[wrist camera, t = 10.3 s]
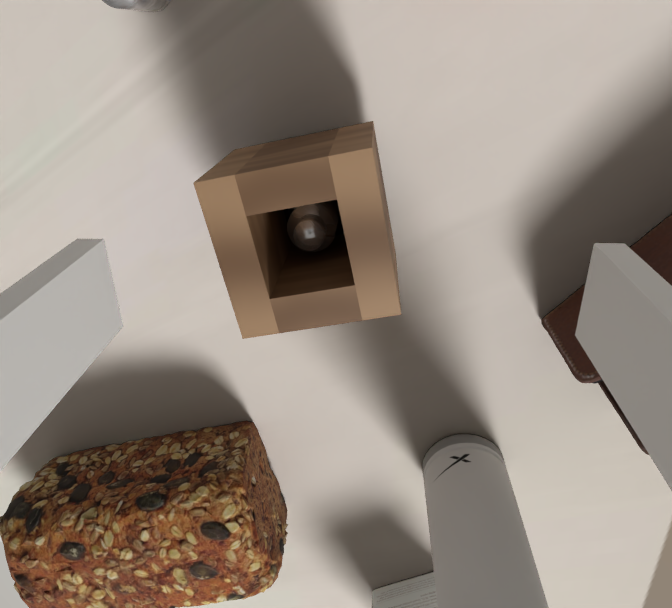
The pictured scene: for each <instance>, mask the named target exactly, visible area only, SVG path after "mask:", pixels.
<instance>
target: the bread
mask: <svg viewBox="0 0 672 608" xmlns="http://www.w3.org/2000/svg"><path fill="white" fill-rule="evenodd" d="M280 493H281V491H280V486H279V483H278V481H277V479H276V477H275V476H274V475H273V472H272V470H271V469H270V467H269V464H268V459H267V454H266V450H265V448H264V445H263V443H262V441H261V439H260V436H259V433H258V430H257V428H256V427H255V425H254V423H253V422H248V421H242V422H236V423H232V424H230V425H223V426H218V427H206V428H201V429H200V430H198V431H180V432H177V433H174V434H172V435H170V434H167V435H165V436H156V437H152V438H144V439H141V440H138V441H128V442H125V443H123V444H122V445H116V444H111V445H107V446H102V447H95V448H91V449H88V450H84V451H78V452H74V453H72V454H70V455H67V456H65V457H60V456H59V457H56V458H54V459H52V460H51V461H49V463H47V464H45V465H44V466H43V467H42V468H41V470H40V471H38V472H36V474H35V477H34V479H33V480H32V481H30V482H26V483H25V484H24V485H22V486H21V487H20V489H19V491H18V492H17V493H16V494H15V495H14V496H13V498H12V500H11V503H10V504H9V507H8V509H7V511H6V513H5V514H4V515H3V516H1V517H0V535H1V538H2V541H3V544H4V550H5V555H6V560H7V563H8V566H9V570H10V573H11V577H12V578H13V580H14V581H15V584H14V587H15V589H16V590H17V592H18V593H19V595H20V597H21V599H22V600H23V601H24V602H25V603H26V604H27V605H28V607H29V608H175V607H179V608H180V607H183V606H185V607H190V606H200V605H207V604H210V603H218V602H223V601H229V600H237V599H245V598H247V597H250V596H254V595H256V594H258V593H260V592H264V591H265V590H266V589H267V588H269V587H271V586H272V584H273V583H274V582H275V580H276V579H277V578H278V573H279V570H280V568H281V566H282V556H283V553H284V545H285V544H286V536H287V534H288V533H287V532H286V530H285V529H286V527H287V526H288V524H286V519H287V507H286V504H285V500H284V498H283V497H281V495H280Z"/></svg>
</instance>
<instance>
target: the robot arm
mask: <svg viewBox="0 0 672 608" xmlns="http://www.w3.org/2000/svg"><path fill="white" fill-rule="evenodd" d="M122 327H123V323H122V318H121V314H120V309H119V305H118V300H117V296H116V291H115V287H114V282H113V278H112V273H111V269H110V264H109V260H108V255H107V251H106V246H105V242H104V239H76V240H75V241H73V242H72V243H71V244H69V245H68V246H66V247H65V248H64V249H62V250H61V251H59V252H58V253H57V254H55V255H54V256H52V257H51V258H50V259H48V260H47V261H45V262H44V263H43V264H41V265H40V266H39V267H37V268H36V269H34V270H33V271H32V272H30V273H29V274H27V275H26V276H25V277H23V278H22V279H20V280H19V281H18V282H16V283H15V284H13V285H12V286H11V287H9V288H8V289H6V290H5V291H4V292H2V293H1V294H0V472H1V470H2V469H3V468H4V467H5V466H6V464H7V463H8V462H9V461H10V460H11V459H12V457H13V456H14V455H15V454H16V453H17V451H18V450H19V449H20V448H21V447H22V446H23V444H24V443H25V442H26V441H27V440H28V438H29V437H30V436H31V435H32V434H33V432H34V431H35V430H36V429H37V428H38V427H39V425H40V424H41V423H42V422H43V421H44V419H45V418H46V417H47V416H48V415H49V414H50V412H51V411H52V410H53V409H54V408H55V406H56V405H57V404H58V403H59V402H60V400H61V399H62V398H63V397H64V396H65V395H66V393H67V392H68V391H69V390H70V389H71V387H72V386H73V385H74V384H75V383H76V382H77V380H78V379H79V378H80V377H81V376H82V374H83V373H84V372H85V371H86V370H87V369H88V367H89V366H90V365H91V364H92V363H93V361H94V360H95V359H96V358H97V357H98V355H99V354H100V353H101V352H102V351H103V350H104V348H105V347H106V346H107V345H108V344H109V342H110V341H111V340H112V339H113V338H114V337H115V335H116V334H117V333H118V332H119V331H120V329H121V328H122ZM575 336H576V338H577V339H578V341H579V342H580V344H581V346H582V347H583V349H584V351H585V352H586V354H587V355H588V357H589V359H590V360H591V362H592V363H593V365H594V367H595V368H596V370H597V371H598V373H599V375H600V376H601V378H602V379H603V381H604V383H605V384H606V386H607V387H608V389H609V391H610V392H611V394H612V395H613V397H614V399H615V400H616V402H617V404H618V405H619V407H620V408H621V410H622V412H623V413H624V415H625V416H626V418H627V420H628V421H629V423H630V424H631V426H632V428H633V429H634V431H635V432H636V434H637V436H638V437H639V439H640V440H641V442H642V444H643V445H644V447H645V449H646V450H647V452H648V453H649V455H650V457H651V458H652V460H653V461H654V463H655V465H656V466H657V468H658V469H659V471H660V473H661V474H662V476H663V477H664V479H665V481H666V482H667V484H668V485H669V487H670V489H671V490H672V286H671V285H670V284H669V283H668V282H667V281H666V280H665V279H663V278H662V277H661V276H660V275H659V274H658V273H657V272H656V271H655V270H654V269H652V268H651V267H650V266H649V265H648V264H647V263H646V262H645V261H644V260H642V259H641V258H640V257H639V256H638V255H637V254H636V253H635V252H634V251H633V250H631V249H630V248H629V247H628V246H627V245H626V244H625V243H594V246H593V251H592V255H591V260H590V265H589V270H588V275H587V280H586V284H585V289H584V294H583V299H582V304H581V308H580V313H579V318H578V323H577V328H576V333H575Z"/></svg>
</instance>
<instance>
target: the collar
mask: <svg viewBox="0 0 672 608" xmlns="http://www.w3.org/2000/svg"><path fill="white" fill-rule="evenodd" d="M194 186H195V189H196V193H197V196H198V199H199V202H200V205H201V208H202V211H203V215H204V218H205V221H206V224H207V227H208V230H209V234H210V237H211V240H212V243H213V246H214V249H215V252H216V256H217V259H218V262H219V265H220V268H221V271H222V275H223V278H224V281H225V284H226V287H227V290H228V293H229V297H230V300H231V303H232V306H233V309H234V312H235V316H236V319H237V322H238V325H239V328H240V331H241V334H242V338H243V339H244V338H251V337H257V336H264V335H270V334H277V333H284V332H290V331H297V330H303V329H310V328H316V327H323V326H330V325H336V324H343V323H349V322H356V321H362V320H369V319H375V318H382V317H389V316H395V315H401V306H400V296H399V285H398V274H397V263H396V253H395V248H394V242H393V236H392V230H391V224H390V218H389V212H388V206H387V200H386V195H385V189H384V183H383V177H382V171H381V165H380V159H379V153H378V147H377V142H376V136H375V130H374V124H373V121H371V122H366V123H361V124H356V125H352V126H347V127H342V128H337V129H332V130H327V131H322V132H318V133H313V134H308V135H303V136H298V137H293V138H288V139H283V140H279V141H274V142H269V143H264V144H259V145H254V146H249V147H244V148H240V149H235V150H234V151H232V152H231V153H230V154H229V155H227V156H226V157H225V158H224V159H223V160H221V161H220V162H219V163H218V164H216V165H215V166H214V167H213V168H211V169H210V170H209V171H208V172H206V173H205V174H204V175H203V176H201V177H200V178H199V179H198V180H197V181H195V182H194ZM336 199H337V201H338V206H339V211H340V216H341V220H342V225H343V230H344V234H341V235H336V236H335V237H334V239H333V241H332V243H331V244H330V245H329V246H328V247H327V248H325V249H323V250H321V251H317V252H308V251H304V250H302V249H300V248H298V247H297V246H295V245H294V244H293V243H292V241H291V240H290V238H289V236H288V232H287V221H286V217H285V213H284V209H288V208H293V207H299V206H304V205H309V204H315V203H320V202H326V201H331V200H336Z"/></svg>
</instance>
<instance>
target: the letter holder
mask: <svg viewBox="0 0 672 608" xmlns="http://www.w3.org/2000/svg"><path fill="white" fill-rule="evenodd" d="M630 249H631V250H633V251H634V252H635V253H636V254H637V255H638V256H639V257H640V258H641V259H642V260H644V261H645V262H646V263H647V264H648V265H649V266H650V267H651V268H652V269H654V270H655V271H656V272H657V273H658V274H659V275H660V276H661V277H662V278H663V279H665V280H666V281H667V282H668V283H669V284H670V285H671V286H672V214H671V215H670V216H669V217H667V218H666V219H665V220H664V221H662V222H661V223H660V224H659V225H658V226H656V227H655V228H654V229H652V230H651V231H650V232H648V233H647V234H646V235H645V236H644V237H643V238H641V239H640V240H639V241H638V242H636V243H635V244H634V245H632V246H631V247H630ZM585 284H586V283H585ZM584 289H585V285H583V286H582V287H581V288H580V289H578V290H577V291H576V292H575V293H573V294H572V295H571V296H570V297H569V298H567V299H566V300H565V301H564V302H563V303H561V304H560V305H559V306H557V307H556V308H555V309H554V310H552V311H551V312H550V313H549V314H547V315H546V316H545V317H544V318H543V319H542V320H541V322H542V325H543V327H544V328H545V329H546V330H547V332H548V333H549V335H550V337H551V338H552V340H553V342H554V343H555V345H556V347H557V349H558V350H559V352H560V353H561V355H562V357H563V358H564V360H565V362H566V364H567V365H568V367H569V369H570V370H571V372H572V374H573V375H574V377H575V378H576V379H577V380H578V381H580V382H581V383H599V385H600V387H601V388H602V390H603V391H604V393H605V395H606V396H607V398H608V399H609V401H610V402H611V404H612V405H613V407H614V408H615V410H616V411H617V413H618V414H619V416H620V417H621V419H622V421H623V422H624V424H625V425H626V427H627V428H628V430H629V431H630V433H631V434H632V436H633V438H634V439H635V441H636V442H637V444H638V446H639V447H640V448H641V450H642V451H644V452H645V453H646V454H648V455H649V453H648V452H647V450H646V449H645V447H644V445H643V444H642V442H641V440H640V439H639V437H638V436H637V434H636V432H635V431H634V429H633V428H632V426H631V424H630V423H629V421H628V420H627V418H626V416H625V415H624V413H623V412H622V410H621V408H620V407H619V405H618V404H617V402H616V400H615V399H614V397H613V395H612V394H611V392H610V391H609V389H608V387H607V386H606V384H605V383H604V381H603V379H602V378H601V376H600V375H599V373H598V371H597V370H596V368H595V367H594V365H593V363H592V362H591V360H590V359H589V357H588V355H587V354H586V352H585V351H584V349H583V347H582V346H581V344H580V342H579V341H578V339H577V338H576V336H575V333H576V328H577V323H578V318H579V313H580V308H581V304H582V299H583V294H584Z"/></svg>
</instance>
